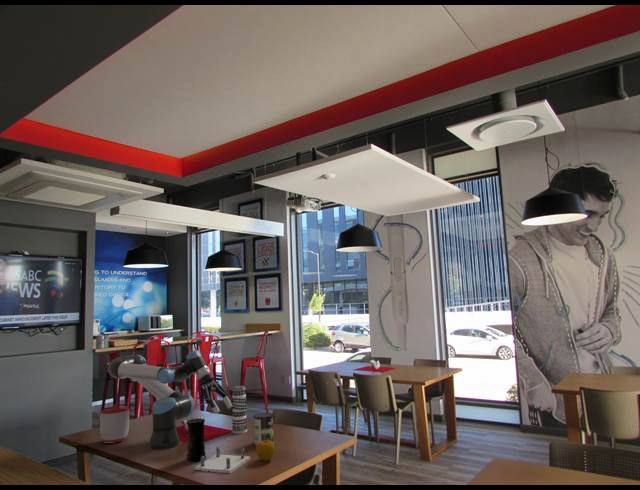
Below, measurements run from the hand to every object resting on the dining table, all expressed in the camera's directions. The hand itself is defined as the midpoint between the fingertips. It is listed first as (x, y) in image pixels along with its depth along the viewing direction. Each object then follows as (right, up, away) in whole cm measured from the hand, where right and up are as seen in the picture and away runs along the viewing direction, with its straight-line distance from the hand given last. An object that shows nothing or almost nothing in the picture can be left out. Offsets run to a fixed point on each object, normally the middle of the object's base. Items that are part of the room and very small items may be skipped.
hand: (224, 410), depth 250 cm
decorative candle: (+6, -18, +16) cm, 25 cm away
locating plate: (+8, -11, -39) cm, 41 cm away
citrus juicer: (-63, -21, +9) cm, 67 cm away
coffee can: (+22, -14, -8) cm, 28 cm away
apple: (+27, -11, -36) cm, 46 cm away
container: (-7, -13, -30) cm, 33 cm away
